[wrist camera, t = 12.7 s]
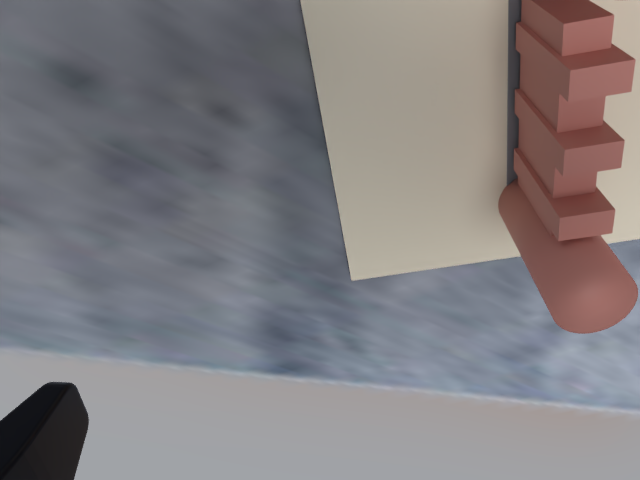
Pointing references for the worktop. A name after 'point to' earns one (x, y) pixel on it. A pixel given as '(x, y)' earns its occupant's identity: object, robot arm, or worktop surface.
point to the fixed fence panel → (568, 162)
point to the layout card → (440, 127)
